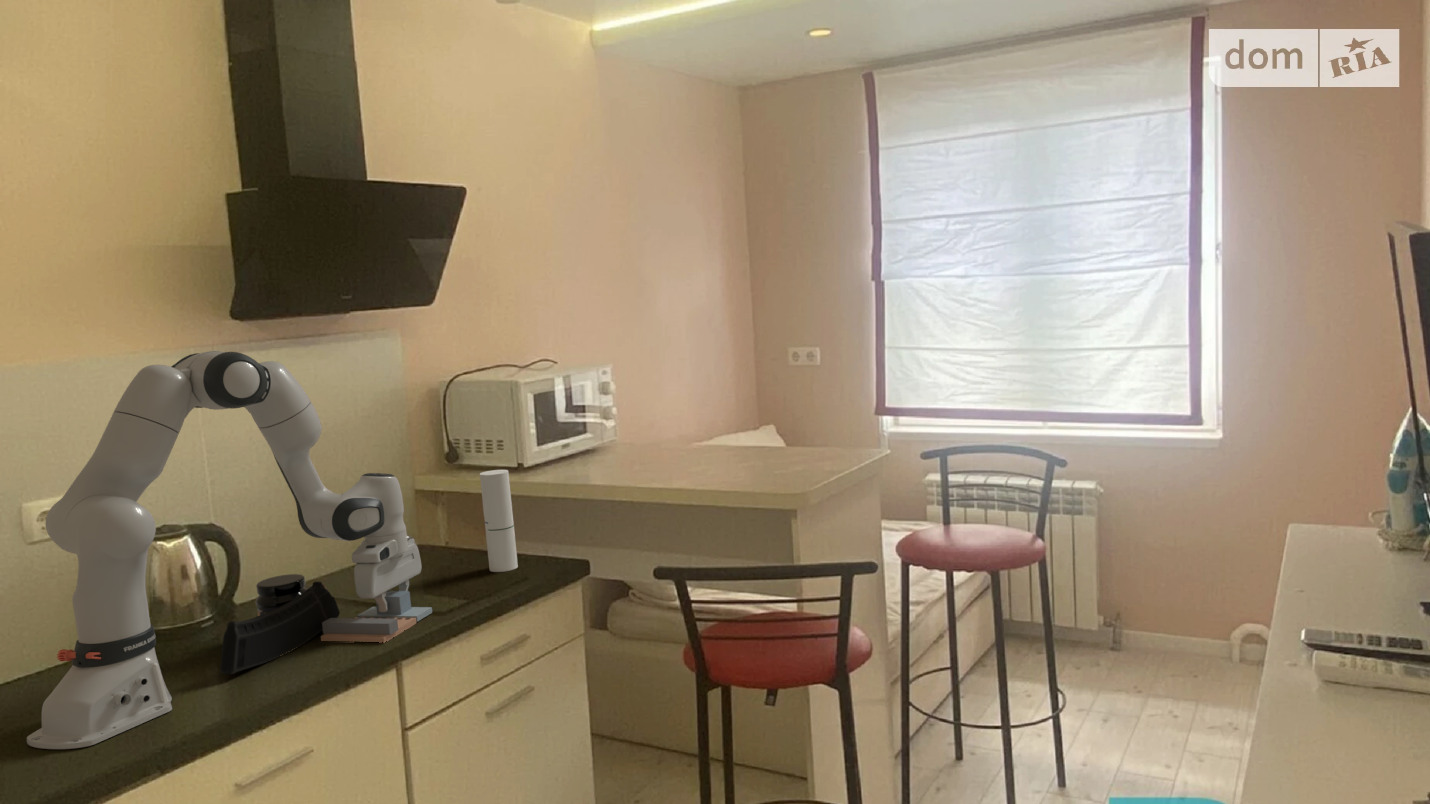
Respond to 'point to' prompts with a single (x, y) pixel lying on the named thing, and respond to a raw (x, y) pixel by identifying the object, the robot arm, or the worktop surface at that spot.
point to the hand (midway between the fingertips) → (393, 605)
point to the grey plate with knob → (398, 607)
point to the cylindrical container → (498, 520)
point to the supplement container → (278, 591)
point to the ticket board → (371, 637)
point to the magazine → (277, 630)
